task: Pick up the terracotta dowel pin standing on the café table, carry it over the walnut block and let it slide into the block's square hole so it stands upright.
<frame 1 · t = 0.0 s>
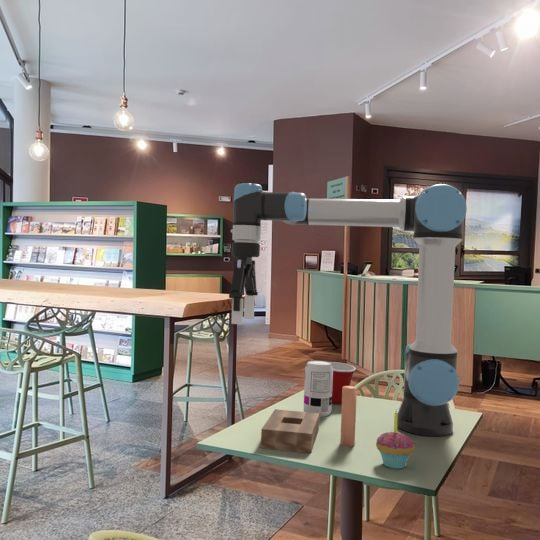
hand: (243, 321, 145), 28 cm above the table, fingers open, 13 cm apart
dowel pin: (347, 444, 134), on the table
hole block: (291, 438, 136), on the table
plastic cup: (337, 402, 174), on the table
cupcake: (394, 465, 121), on the table
supplement can: (317, 414, 160), on the table
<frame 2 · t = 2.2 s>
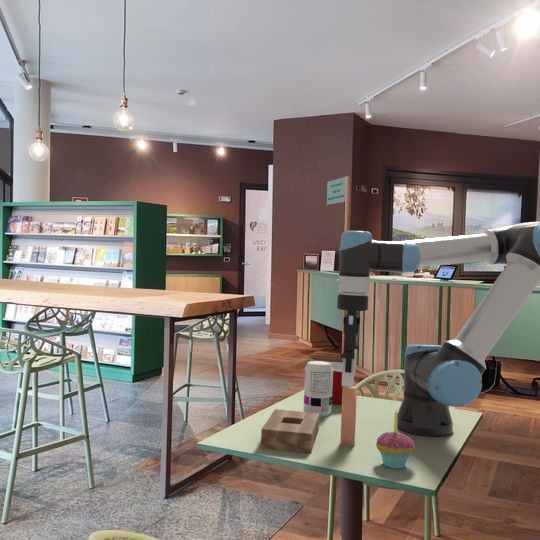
hand: (348, 380, 133), 16 cm above the table, fingers open, 13 cm apart
nothing on the table moved.
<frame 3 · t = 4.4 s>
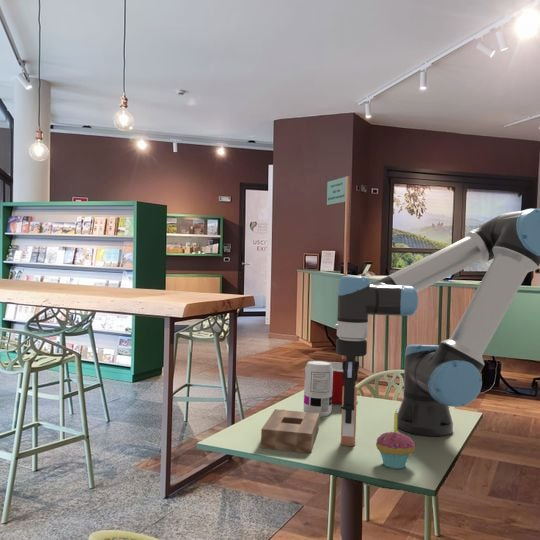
hand: (348, 433, 134), 3 cm above the table, fingers closed on dowel pin, 3 cm apart
dowel pin: (347, 443, 134), on the table, touching gripper
everything else where it was.
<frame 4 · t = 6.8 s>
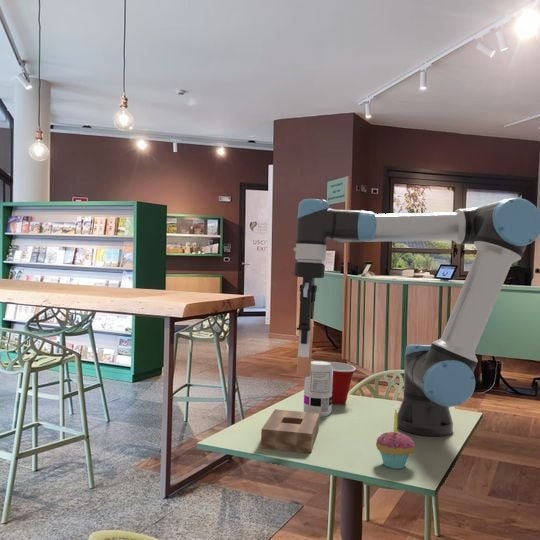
hand: (304, 355, 135), 21 cm above the table, fingers closed on dowel pin, 3 cm apart
dowel pin: (303, 375, 135), point 16 cm above the table, touching gripper
everything else where it was.
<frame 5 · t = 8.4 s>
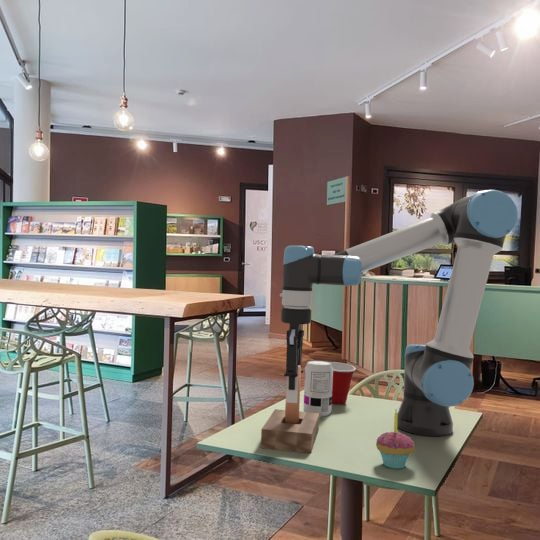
hand: (292, 400, 136), 10 cm above the table, fingers closed on dowel pin, 3 cm apart
dowel pin: (291, 421, 136), point 4 cm above the table, touching gripper
everything else where it was.
when the fingers open (6 cm above the table, at t = 9.4 s): dowel pin drops 1 cm, resting in hole block.
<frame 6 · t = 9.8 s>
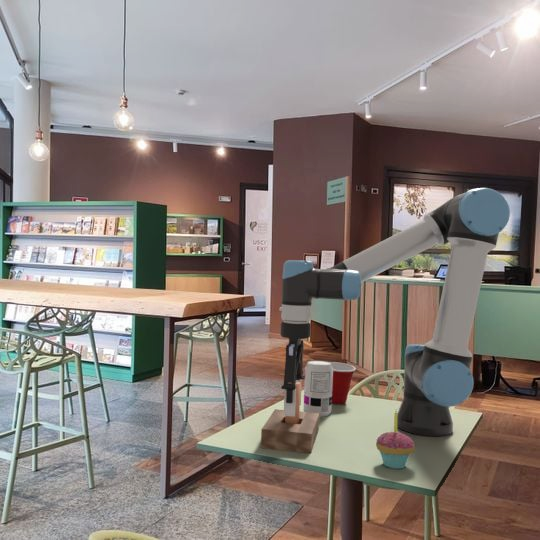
hand: (292, 410, 136), 7 cm above the table, fingers open, 10 cm apart
dowel pin: (291, 438, 136), resting in hole block
everything else where it was.
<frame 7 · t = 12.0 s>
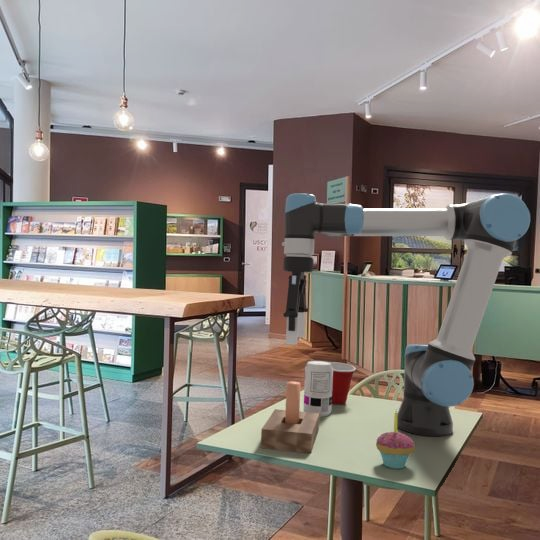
hand: (295, 340, 136), 25 cm above the table, fingers open, 13 cm apart
nothing on the table moved.
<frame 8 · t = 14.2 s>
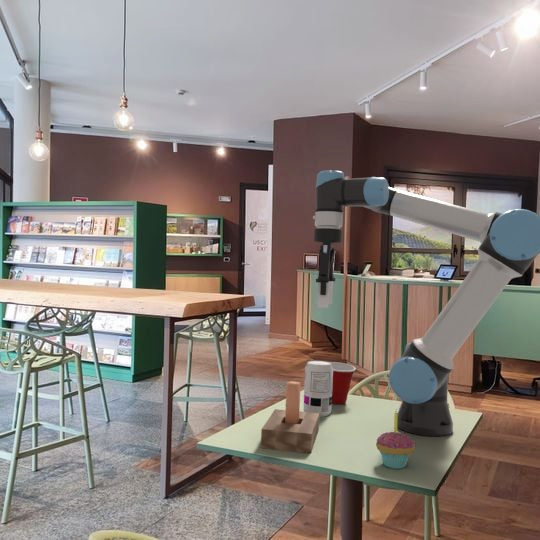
hand: (325, 306, 148), 33 cm above the table, fingers open, 13 cm apart
nothing on the table moved.
at the end: dowel pin 0.0 cm off-centre on the hole block, point 0.0 cm above the hole block's base; dowel pin tilted 0°; the gripper is holding nothing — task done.
